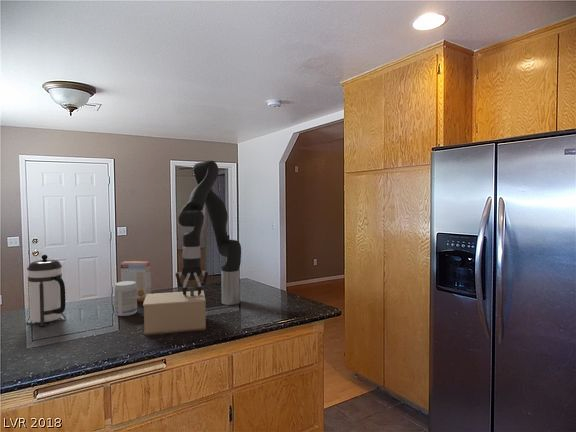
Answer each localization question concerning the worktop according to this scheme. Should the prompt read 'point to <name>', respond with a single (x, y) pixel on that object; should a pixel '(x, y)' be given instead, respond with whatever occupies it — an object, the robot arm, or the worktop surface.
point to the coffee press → (45, 291)
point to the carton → (174, 318)
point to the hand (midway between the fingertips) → (192, 295)
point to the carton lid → (174, 297)
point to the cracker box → (138, 276)
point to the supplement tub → (125, 298)
